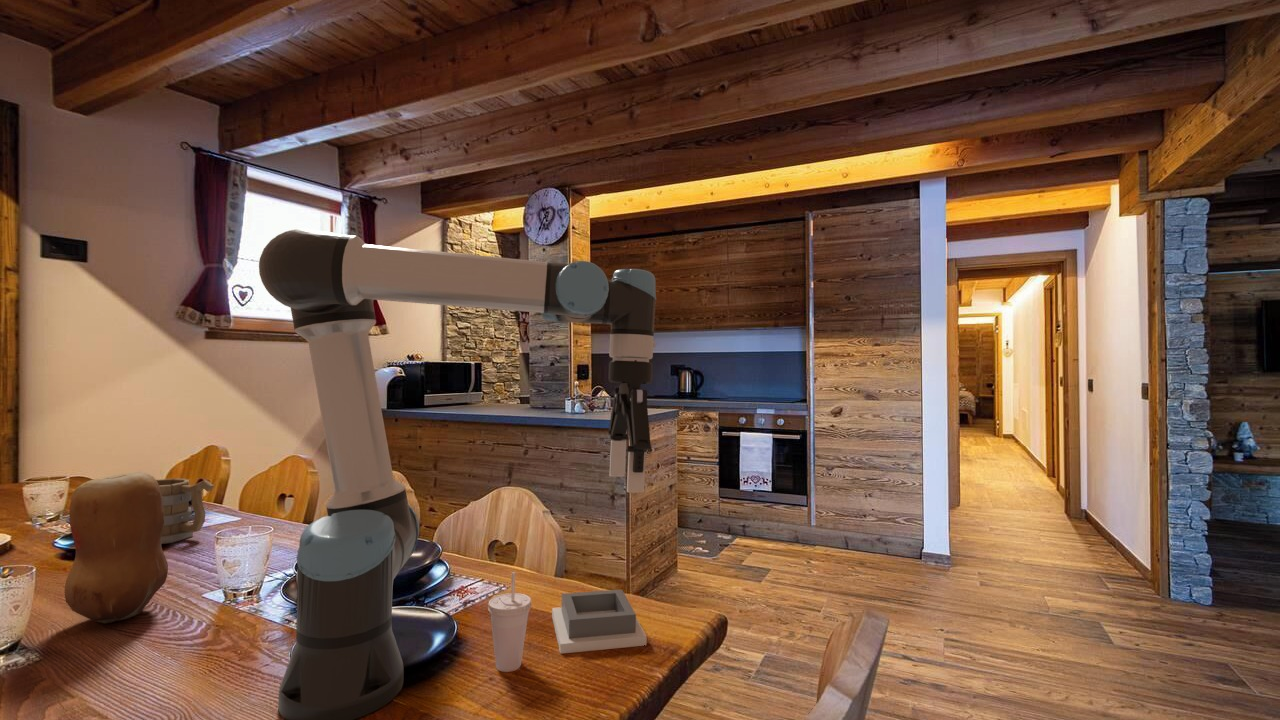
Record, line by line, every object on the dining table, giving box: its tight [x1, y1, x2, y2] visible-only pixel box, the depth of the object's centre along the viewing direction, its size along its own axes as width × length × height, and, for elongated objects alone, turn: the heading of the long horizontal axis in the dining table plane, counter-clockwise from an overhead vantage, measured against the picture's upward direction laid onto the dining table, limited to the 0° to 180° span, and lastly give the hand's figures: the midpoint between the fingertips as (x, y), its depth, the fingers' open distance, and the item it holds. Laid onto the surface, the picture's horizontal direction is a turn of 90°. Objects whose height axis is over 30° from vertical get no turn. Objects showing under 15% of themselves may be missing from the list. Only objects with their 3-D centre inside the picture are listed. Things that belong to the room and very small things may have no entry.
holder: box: [551, 588, 648, 655], centre depth 99 cm, size 14×14×4 cm
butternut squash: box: [64, 471, 169, 625], centre depth 100 cm, size 14×13×25 cm
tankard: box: [156, 478, 215, 545], centre depth 145 cm, size 20×13×15 cm, turn 80°
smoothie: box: [487, 571, 532, 673], centre depth 87 cm, size 6×6×14 cm
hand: (625, 483), depth 99 cm, fingers open, 13 cm apart
